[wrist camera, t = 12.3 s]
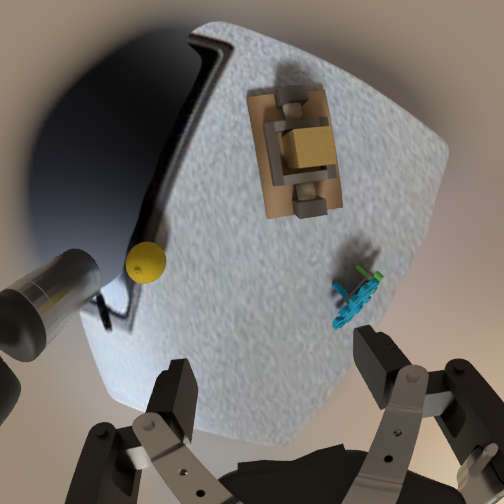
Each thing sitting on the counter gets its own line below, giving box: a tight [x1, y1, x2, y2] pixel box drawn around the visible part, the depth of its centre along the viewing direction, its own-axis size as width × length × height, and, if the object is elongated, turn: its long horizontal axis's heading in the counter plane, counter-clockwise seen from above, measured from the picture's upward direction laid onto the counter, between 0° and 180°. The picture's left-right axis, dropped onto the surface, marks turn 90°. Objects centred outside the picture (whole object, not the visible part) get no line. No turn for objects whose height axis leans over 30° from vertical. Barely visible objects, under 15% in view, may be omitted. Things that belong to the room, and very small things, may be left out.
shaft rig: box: [246, 85, 343, 219], centre depth 35 cm, size 11×17×6 cm, turn 10°
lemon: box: [126, 242, 166, 284], centre depth 38 cm, size 6×6×8 cm
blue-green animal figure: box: [332, 265, 384, 330], centre depth 42 cm, size 11×6×10 cm
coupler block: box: [281, 126, 337, 168], centre depth 32 cm, size 4×4×9 cm
